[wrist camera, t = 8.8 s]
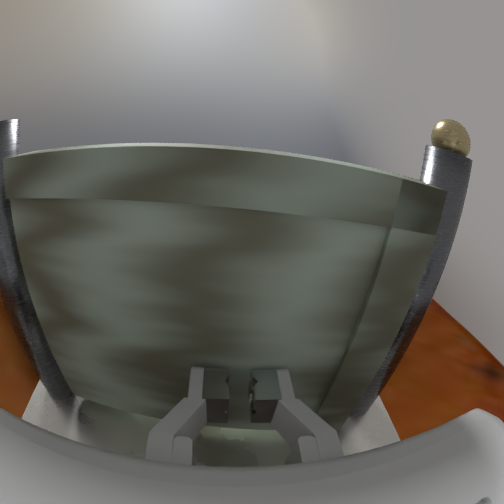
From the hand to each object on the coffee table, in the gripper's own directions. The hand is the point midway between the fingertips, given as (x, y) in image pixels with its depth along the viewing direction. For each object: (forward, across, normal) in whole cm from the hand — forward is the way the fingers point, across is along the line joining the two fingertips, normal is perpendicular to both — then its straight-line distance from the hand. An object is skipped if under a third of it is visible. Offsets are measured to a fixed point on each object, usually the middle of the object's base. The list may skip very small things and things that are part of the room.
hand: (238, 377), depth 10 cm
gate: (+1, -2, -5) cm, 5 cm away
